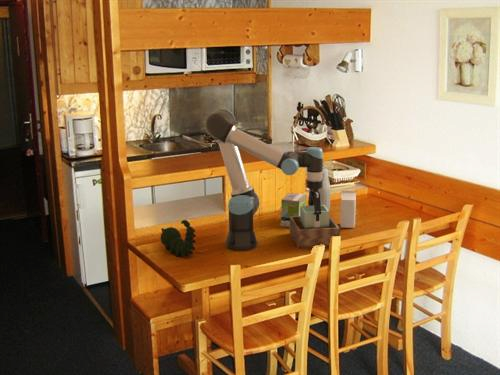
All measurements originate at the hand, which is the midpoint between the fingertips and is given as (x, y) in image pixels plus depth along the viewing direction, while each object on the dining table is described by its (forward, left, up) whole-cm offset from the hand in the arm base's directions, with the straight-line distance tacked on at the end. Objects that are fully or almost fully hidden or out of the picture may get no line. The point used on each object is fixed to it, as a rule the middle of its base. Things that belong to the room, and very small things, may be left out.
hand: (314, 223), depth 321 cm
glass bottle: (+12, +39, -9) cm, 42 cm away
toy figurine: (-67, -8, -9) cm, 68 cm away
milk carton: (+22, +19, -9) cm, 30 cm away
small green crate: (0, 0, -1) cm, 1 cm away
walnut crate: (0, 0, -8) cm, 8 cm away
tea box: (-5, +28, -9) cm, 30 cm away
